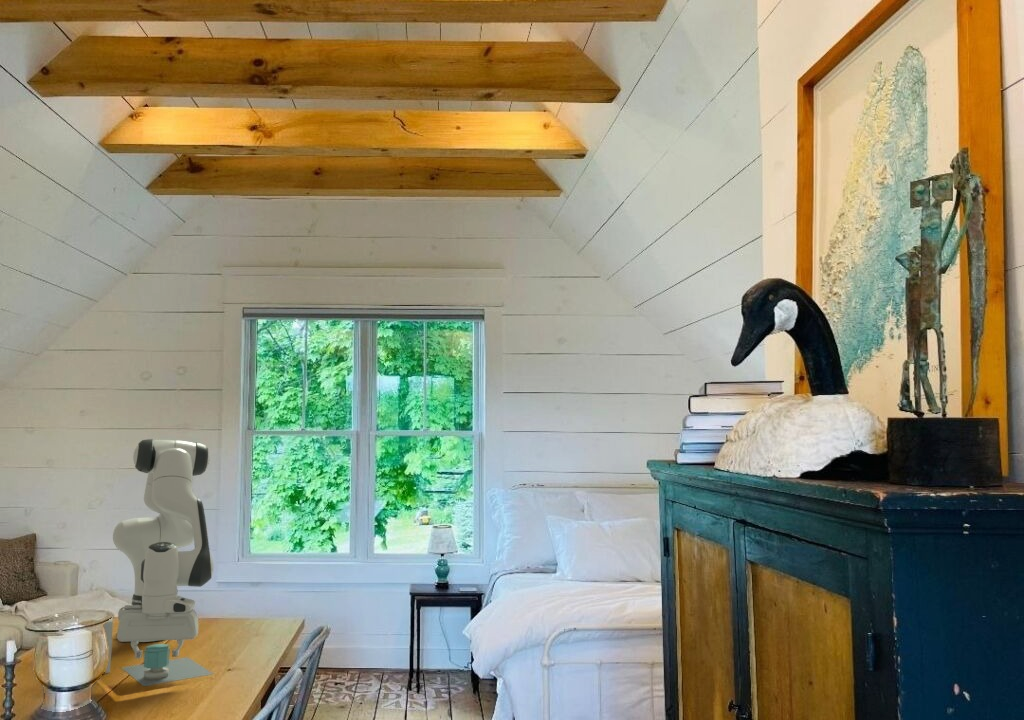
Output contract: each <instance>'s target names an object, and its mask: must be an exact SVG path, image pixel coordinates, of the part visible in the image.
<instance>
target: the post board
mask: <svg viewBox="0 0 1024 720" xmlns="http://www.w3.org/2000/svg"><path fill="white" fill-rule="evenodd" d="M121 669H122V670H123V671H124V672H126V673H127V674H128V675H129V676H130V677H132V678H133V679H134V680H136V682H137V683H139V684H140V685H141V686H142V687H149V686H154V685H159V684H165V683H171V682H177V681H182V680H188V679H193V678H194V679H195V678H200V677H205V676H209V675H211V676H213V675H214V673H213V672H212V671H210V670H208V669H207V668H205V667H203V666H202V665H201V664H199V663H198V662H196V661H195V660H192V658H190V657H188V656H186V657H180V658H179V657H178V658H175V659H174V658H173V659H169V664H168V665H167V666H165V667H160V668H146V667H144V663H143V664H141V663H140V664H136V665H130V666H124V667H121ZM213 679H214V678H213ZM196 682H197V681H196ZM184 684H185V685H186V684H187V683H184ZM174 686H176V685H173V687H174ZM156 689H157V690H158V688H156ZM146 691H148V690H146Z"/></svg>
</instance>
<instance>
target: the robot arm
mask: <svg viewBox="0 0 1024 720" xmlns="http://www.w3.org/2000/svg"><path fill="white" fill-rule="evenodd" d="M132 457H133V458H132V459H133V464H134V467H135V469H136V470H137V471H138V472H140V473H144V474H147V478H146V483H145V489H144V495H143V501H144V504H145V506H146V507H147V508H148V509H150V510H151V511H153V512H156V513H158V514H159V515H157V516H147V517H132V518H128V519H124V520H121V521H119V522H118V523H117V524H116V526H115V528H114V530H113V533H112V541H113V544H114V546H115V547H116V549H118V550H119V551H120V552H122V553H123V554H124V555H126V557H127V558H128V559H129V560H130V563H131V565H132V568H133V573H134V593H133V594H132V598H131V605H129V604H126V605H124V606H122V607H121V608H119V610H118V612H117V620H118V625H117V632H116V633H117V634H116V639H117V641H118V642H121V643H122V642H129V643H130V646H131V648H132V649H133V652H134V658H135V659H142V657H143V651H144V650H143V649H140V648H139V646H138V644H139V643H146V642H147V643H149V642H156V641H176V644H177V647H176V648H172V652H171V653H172V655H171V657H172V658H176V657H177V658H179V656H180V649H181V648H182V646H183V644H184V643H185V640H194V639H195V638H197V636H198V634H199V615H198V613H197V611H196V610H195V606H196V601H195V600H193V599H191V598H188V597H183V596H182V595H181V596H180V595H179V594H178V591H179V590H178V587H187V586H188V587H203V586H205V584H206V583H208V582H209V581H210V580H212V579H213V578H212V577H213V574H214V561H213V558H212V554H211V552H210V546H209V544H210V543H209V536H208V526H207V521H206V515H205V508H204V504H203V501H202V499H200V498H199V497H197V496H196V495H195V493H194V491H193V490H194V489H193V480H194V478H193V477H194V476H196V477H197V476H200V475H202V474H204V473H205V472H206V469H207V468H208V467H209V464H210V460H211V459H210V457H211V456H210V452H209V448H208V446H207V445H206V444H203V443H200V442H191V441H187V440H180V439H174V440H173V439H172V440H171V439H152V438H149V439H142V440H140V442H138V444H137V446H136V447H135V448H134V451H133V456H132ZM192 544H193V545H194V549H192V550H182V551H178V549H181V548H184V547H189V546H190V545H192Z"/></svg>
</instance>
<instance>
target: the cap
mask: <svg viewBox="0 0 1024 720" xmlns="http://www.w3.org/2000/svg"><path fill="white" fill-rule="evenodd" d="M170 649H171V648H170V645H169V644H166V643H165V644H164V643H158V644H157V643H156V644H151V645H147V646H145V649H144V650H143V651H144V653H143V654H144V655H143V664H144V667H146V668H160V667H165V666H167V665H168V664H169V660H170V652H171V651H170Z"/></svg>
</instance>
